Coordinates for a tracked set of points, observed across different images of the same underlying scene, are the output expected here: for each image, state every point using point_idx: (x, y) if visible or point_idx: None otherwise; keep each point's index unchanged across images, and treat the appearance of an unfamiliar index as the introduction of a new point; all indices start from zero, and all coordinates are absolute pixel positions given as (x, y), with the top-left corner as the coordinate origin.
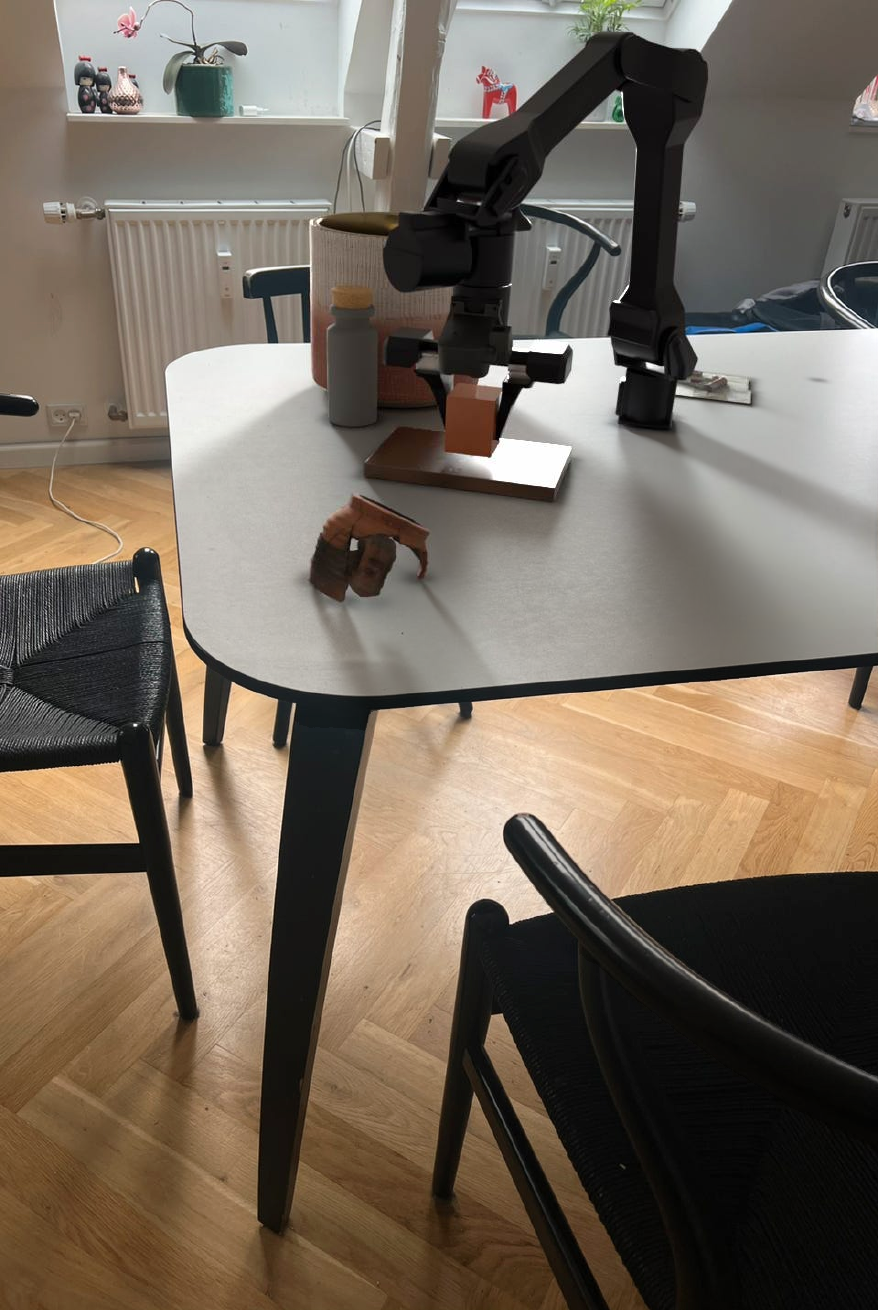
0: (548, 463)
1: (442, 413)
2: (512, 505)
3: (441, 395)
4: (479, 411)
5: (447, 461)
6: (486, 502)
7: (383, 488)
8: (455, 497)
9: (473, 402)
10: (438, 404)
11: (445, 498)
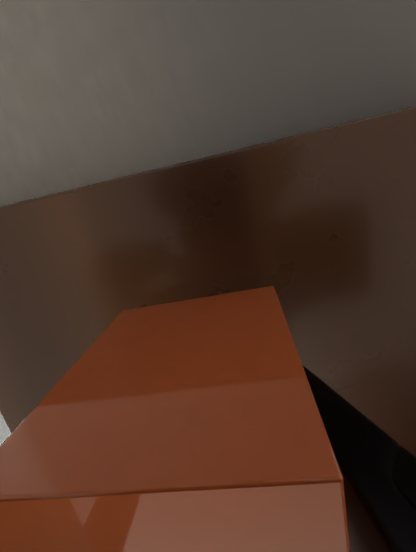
0: (21, 382)
1: (346, 416)
2: (4, 145)
3: (409, 512)
4: (96, 419)
5: (253, 265)
6: (67, 123)
7: (396, 31)
8: (155, 105)
9: (113, 465)
10: (394, 450)
11: (176, 78)
